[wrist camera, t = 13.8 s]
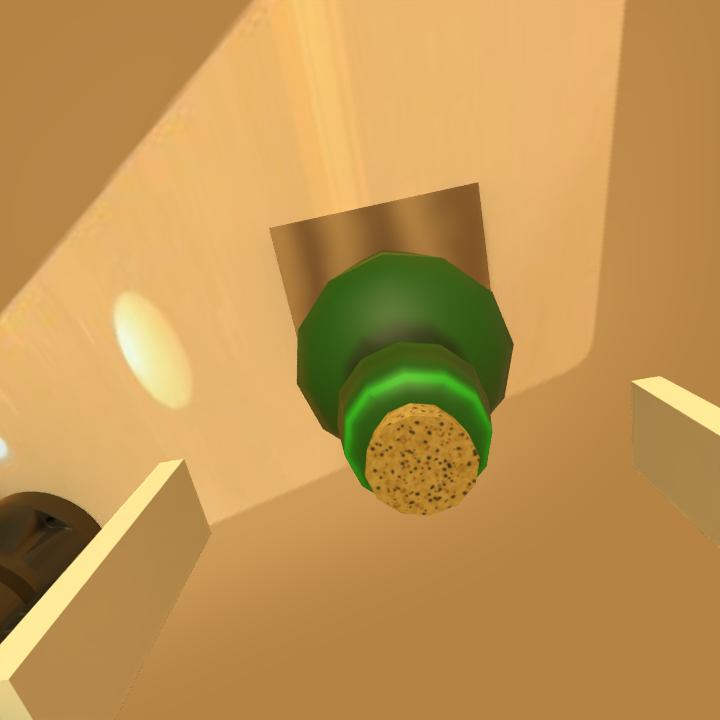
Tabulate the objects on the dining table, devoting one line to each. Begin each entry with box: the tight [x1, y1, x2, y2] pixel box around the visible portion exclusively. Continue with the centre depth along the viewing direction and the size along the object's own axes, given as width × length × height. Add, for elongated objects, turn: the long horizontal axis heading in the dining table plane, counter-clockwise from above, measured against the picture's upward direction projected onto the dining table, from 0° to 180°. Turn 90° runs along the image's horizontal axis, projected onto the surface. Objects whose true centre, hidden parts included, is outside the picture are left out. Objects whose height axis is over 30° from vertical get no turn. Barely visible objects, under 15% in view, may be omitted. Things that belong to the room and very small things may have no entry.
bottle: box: [297, 251, 514, 515], centre depth 26 cm, size 11×11×28 cm
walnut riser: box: [269, 183, 491, 338], centre depth 40 cm, size 18×16×3 cm
